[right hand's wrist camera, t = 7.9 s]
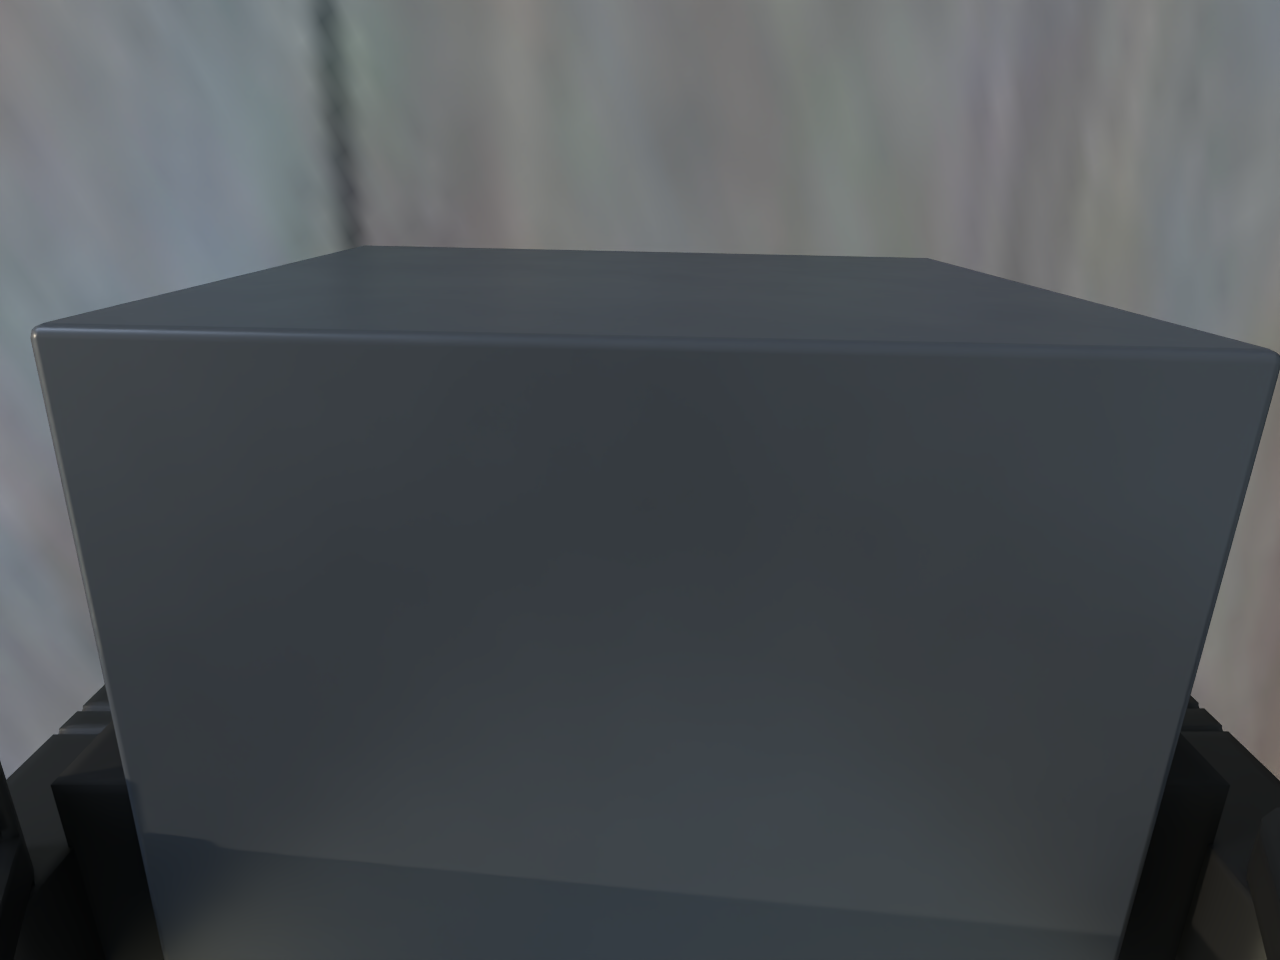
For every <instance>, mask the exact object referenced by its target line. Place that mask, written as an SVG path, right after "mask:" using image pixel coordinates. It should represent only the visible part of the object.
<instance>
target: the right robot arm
mask: <svg viewBox="0 0 1280 960" xmlns="http://www.w3.org/2000/svg"><path fill="white" fill-rule="evenodd" d="M59 730H60V731H59V734H58V735H52V736H51V737H50V738H49V739H48V740H47V741H46V742H45V743H44V744H43V745H42V746H41V747H40V748H39V749H38V750H37V751H36V752H35V753H34V754H33V755H32V756H31V757H30V758H29V759H28V760H26V761H25V762H24V763H23V764H22V765H21V766H20V767H19V768H18V769H17V770H16V771H15V772H14V773H13V774H12V775H11V776H10V777H9V778H8V779H7V780H6V778H5V775H4V772H3V768H2V765H1V762H0V960H164V957H163V952H162V947H161V943H160V938H159V933H158V929H157V924H156V919H155V915H154V910H153V905H152V901H151V896H150V892H149V887H148V882H147V878H146V873H145V868H144V864H143V859H142V854H141V850H140V845H139V840H138V836H137V831H136V826H135V822H134V817H133V812H132V808H131V803H130V798H129V794H128V789H127V784H126V780H125V775H124V770H123V766H122V761H121V757H120V752H119V747H118V743H117V738H116V733H115V729H114V724H113V719H112V715H111V710H110V705H109V701H108V696H107V691H106V687H105V685H104V686H103V687H102V688H101V689H100V690H99V691H98V692H97V693H96V694H95V695H94V696H93V697H92V698H91V699H90V700H89V701H88V702H86V703H85V704H84V705H83V710H82V711H77V712H76V713H75V714H74V715H73V716H72V717H71V718H70V719H69V720H68V721H67V722H66V723H65V724H64V725H63V726H62V727H61V728H60V729H59ZM1118 960H1280V781H1279V780H1278V779H1277V778H1276V777H1275V776H1274V775H1273V774H1272V773H1271V772H1270V771H1269V770H1268V769H1267V768H1266V767H1265V766H1264V765H1263V764H1262V763H1260V762H1259V761H1258V760H1257V759H1256V758H1255V757H1254V756H1253V755H1252V754H1251V753H1250V752H1249V751H1248V750H1247V749H1246V748H1245V747H1244V746H1243V745H1242V744H1241V743H1240V742H1239V741H1238V740H1236V739H1235V738H1234V737H1233V736H1232V735H1231V734H1230V733H1229V732H1228V731H1223V730H1222V725H1221V724H1220V723H1219V722H1218V721H1217V720H1216V719H1215V718H1214V717H1213V716H1211V715H1210V714H1209V713H1208V712H1207V711H1206V710H1205V709H1204V708H1199V706H1198V702H1197V701H1196V700H1195V699H1194V698H1193V697H1192V696H1191V695H1190V698H1189V702H1188V706H1187V709H1186V713H1185V716H1184V720H1183V724H1182V727H1181V731H1180V735H1179V738H1178V742H1177V746H1176V749H1175V753H1174V757H1173V760H1172V764H1171V768H1170V771H1169V775H1168V778H1167V782H1166V786H1165V789H1164V793H1163V797H1162V800H1161V804H1160V808H1159V811H1158V815H1157V819H1156V822H1155V826H1154V830H1153V833H1152V837H1151V840H1150V844H1149V848H1148V851H1147V855H1146V859H1145V862H1144V866H1143V870H1142V873H1141V877H1140V881H1139V884H1138V888H1137V891H1136V895H1135V899H1134V902H1133V906H1132V910H1131V913H1130V917H1129V921H1128V924H1127V928H1126V932H1125V935H1124V939H1123V943H1122V946H1121V950H1120V953H1119V957H1118Z"/></svg>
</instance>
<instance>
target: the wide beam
mask: <svg viewBox="0 0 1280 960" xmlns="http://www.w3.org/2000/svg"><path fill="white" fill-rule="evenodd" d="M31 342H32V347H33V352H34V356H35V361H36V365H37V370H38V375H39V379H40V384H41V389H42V393H43V398H44V403H45V407H46V412H47V417H48V421H49V426H50V431H51V435H52V440H53V445H54V449H55V454H56V459H57V463H58V468H59V473H60V477H61V482H62V487H63V491H64V496H65V500H66V505H67V510H68V514H69V519H70V524H71V528H72V533H73V538H74V542H75V547H76V552H77V556H78V561H79V566H80V570H81V575H82V580H83V584H84V589H85V594H86V598H87V603H88V608H89V612H90V617H91V622H92V626H93V631H94V635H95V640H96V645H97V649H98V654H99V659H100V663H101V668H102V673H103V677H104V682H105V687H106V691H107V696H108V701H109V705H110V710H111V715H112V719H113V724H114V729H115V733H116V738H117V743H118V747H119V752H120V757H121V761H122V766H123V770H124V775H125V780H126V784H127V789H128V794H129V798H130V803H131V808H132V812H133V817H134V822H135V826H136V831H137V836H138V840H139V845H140V850H141V854H142V859H143V864H144V868H145V873H146V878H147V882H148V887H149V892H150V896H151V901H152V905H153V910H154V915H155V919H156V924H157V929H158V933H159V938H160V943H161V947H162V952H163V957H164V960H1118V957H1119V953H1120V950H1121V946H1122V943H1123V939H1124V935H1125V932H1126V928H1127V924H1128V921H1129V917H1130V913H1131V910H1132V906H1133V902H1134V899H1135V895H1136V891H1137V888H1138V884H1139V881H1140V877H1141V873H1142V870H1143V866H1144V862H1145V859H1146V855H1147V851H1148V848H1149V844H1150V840H1151V837H1152V833H1153V830H1154V826H1155V822H1156V819H1157V815H1158V811H1159V808H1160V804H1161V800H1162V797H1163V793H1164V789H1165V786H1166V782H1167V778H1168V775H1169V771H1170V768H1171V764H1172V760H1173V757H1174V753H1175V749H1176V746H1177V742H1178V738H1179V735H1180V731H1181V727H1182V724H1183V720H1184V716H1185V713H1186V709H1187V706H1188V702H1189V698H1190V695H1191V691H1192V687H1193V684H1194V680H1195V676H1196V673H1197V669H1198V665H1199V662H1200V658H1201V655H1202V651H1203V647H1204V644H1205V640H1206V636H1207V633H1208V629H1209V625H1210V622H1211V618H1212V614H1213V611H1214V607H1215V603H1216V600H1217V596H1218V593H1219V589H1220V585H1221V582H1222V578H1223V574H1224V571H1225V567H1226V563H1227V560H1228V556H1229V552H1230V549H1231V545H1232V542H1233V538H1234V534H1235V531H1236V527H1237V523H1238V520H1239V516H1240V512H1241V509H1242V505H1243V501H1244V498H1245V494H1246V490H1247V487H1248V483H1249V480H1250V476H1251V472H1252V469H1253V465H1254V461H1255V458H1256V454H1257V450H1258V447H1259V443H1260V439H1261V436H1262V432H1263V428H1264V425H1265V421H1266V418H1267V414H1268V410H1269V407H1270V403H1271V399H1272V396H1273V392H1274V388H1275V385H1276V381H1277V377H1278V374H1279V370H1280V355H1279V354H1278V353H1276V352H1274V351H1272V350H1270V349H1267V348H1264V347H1260V346H1256V345H1252V344H1248V343H1245V342H1241V341H1237V340H1233V339H1230V338H1226V337H1222V336H1218V335H1215V334H1211V333H1207V332H1203V331H1200V330H1196V329H1192V328H1188V327H1184V326H1181V325H1177V324H1173V323H1169V322H1166V321H1162V320H1158V319H1154V318H1151V317H1147V316H1143V315H1139V314H1136V313H1132V312H1128V311H1124V310H1120V309H1117V308H1113V307H1109V306H1105V305H1102V304H1098V303H1094V302H1090V301H1087V300H1083V299H1079V298H1075V297H1072V296H1068V295H1064V294H1060V293H1056V292H1053V291H1049V290H1045V289H1041V288H1038V287H1034V286H1030V285H1026V284H1023V283H1019V282H1015V281H1011V280H1007V279H1004V278H1000V277H996V276H992V275H989V274H985V273H981V272H977V271H974V270H970V269H966V268H962V267H959V266H955V265H951V264H947V263H943V262H940V261H936V260H932V259H928V258H894V257H850V256H805V255H760V254H716V253H671V252H626V251H582V250H537V249H492V248H448V247H403V246H361V247H357V248H353V249H348V250H344V251H340V252H336V253H332V254H328V255H324V256H319V257H315V258H311V259H307V260H303V261H299V262H295V263H290V264H286V265H282V266H278V267H274V268H270V269H266V270H261V271H257V272H253V273H249V274H245V275H241V276H237V277H232V278H228V279H224V280H220V281H216V282H212V283H208V284H203V285H199V286H195V287H191V288H187V289H183V290H179V291H174V292H170V293H166V294H162V295H158V296H154V297H150V298H145V299H141V300H137V301H133V302H129V303H125V304H121V305H116V306H112V307H108V308H104V309H100V310H96V311H92V312H87V313H83V314H79V315H75V316H71V317H67V318H63V319H58V320H54V321H50V322H46V323H43V324H40V325H38V326H36V327H34V328H33V329H32V333H31Z"/></svg>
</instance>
